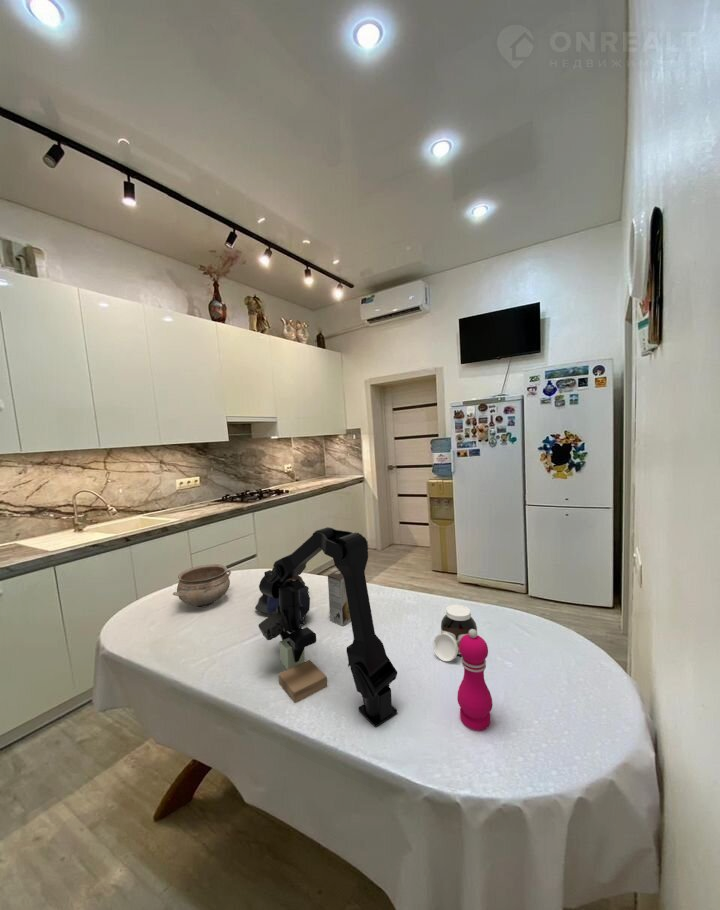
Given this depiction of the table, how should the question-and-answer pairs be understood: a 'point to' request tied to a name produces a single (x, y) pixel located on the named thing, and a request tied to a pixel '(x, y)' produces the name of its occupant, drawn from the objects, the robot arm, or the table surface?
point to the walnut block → (302, 680)
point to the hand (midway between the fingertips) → (292, 657)
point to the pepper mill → (474, 683)
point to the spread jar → (453, 632)
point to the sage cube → (289, 655)
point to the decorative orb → (304, 601)
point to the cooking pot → (203, 584)
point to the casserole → (263, 599)
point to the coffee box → (338, 599)
